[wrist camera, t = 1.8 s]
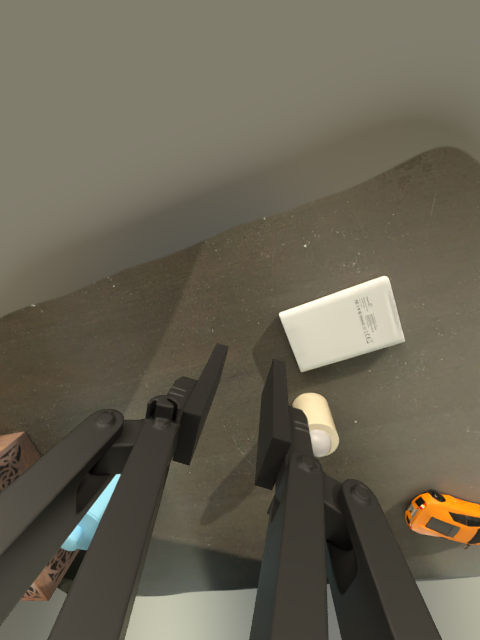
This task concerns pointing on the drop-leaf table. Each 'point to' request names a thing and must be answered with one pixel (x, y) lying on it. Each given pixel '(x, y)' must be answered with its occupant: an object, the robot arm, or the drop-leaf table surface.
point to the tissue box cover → (3, 468)
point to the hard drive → (343, 324)
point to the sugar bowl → (90, 521)
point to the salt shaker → (318, 423)
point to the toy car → (445, 518)
